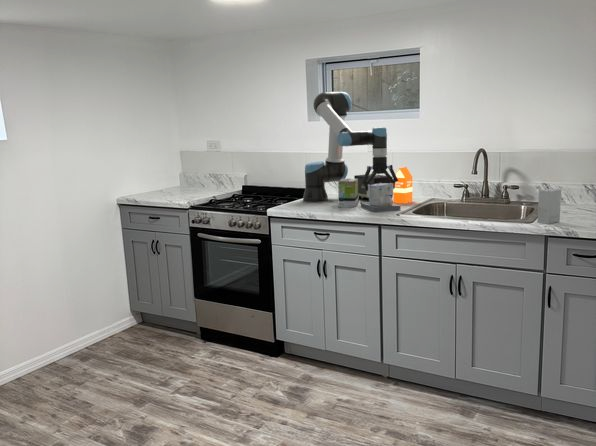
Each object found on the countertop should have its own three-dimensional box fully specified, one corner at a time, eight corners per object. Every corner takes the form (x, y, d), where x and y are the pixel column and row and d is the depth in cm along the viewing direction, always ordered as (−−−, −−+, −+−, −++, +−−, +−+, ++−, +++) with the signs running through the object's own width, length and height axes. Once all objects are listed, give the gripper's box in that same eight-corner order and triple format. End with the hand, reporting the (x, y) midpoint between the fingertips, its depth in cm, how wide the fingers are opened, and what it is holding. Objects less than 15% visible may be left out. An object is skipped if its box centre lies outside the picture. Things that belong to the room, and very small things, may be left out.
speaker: (354, 198, 342) (354, 174, 339) (371, 196, 348) (371, 172, 345) (375, 202, 323) (375, 176, 320) (392, 200, 329) (392, 175, 326)
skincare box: (548, 220, 252) (550, 187, 250) (560, 222, 247) (562, 189, 244) (536, 222, 248) (538, 189, 245) (548, 224, 243) (550, 190, 240)
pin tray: (360, 207, 308) (360, 193, 307) (385, 205, 312) (385, 192, 310) (374, 212, 290) (373, 198, 288) (400, 210, 293) (400, 196, 292)
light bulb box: (380, 202, 306) (380, 182, 304) (390, 203, 302) (390, 183, 300) (368, 204, 299) (368, 184, 297) (379, 205, 294) (378, 185, 292)
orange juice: (412, 201, 322) (412, 167, 318) (405, 203, 315) (405, 168, 312) (400, 200, 327) (400, 166, 323) (393, 202, 320) (392, 168, 316)
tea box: (355, 207, 309) (355, 180, 306) (338, 207, 311) (337, 181, 308) (358, 203, 323) (358, 177, 321) (341, 203, 325) (340, 178, 323)
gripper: (360, 158, 289) (360, 198, 293) (404, 155, 295) (404, 195, 299) (355, 157, 296) (355, 196, 300) (398, 154, 302) (398, 193, 306)
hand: (380, 195), depth 299 cm, fingers open, 13 cm apart
